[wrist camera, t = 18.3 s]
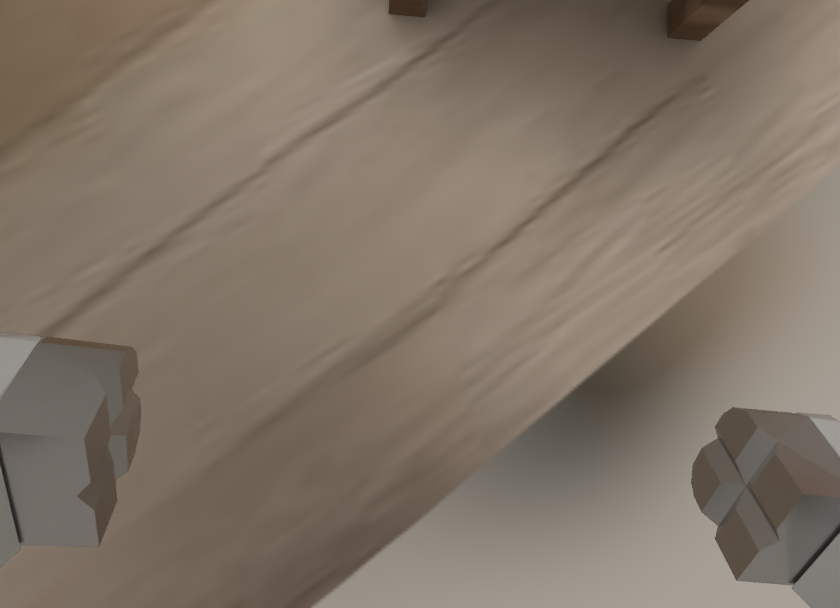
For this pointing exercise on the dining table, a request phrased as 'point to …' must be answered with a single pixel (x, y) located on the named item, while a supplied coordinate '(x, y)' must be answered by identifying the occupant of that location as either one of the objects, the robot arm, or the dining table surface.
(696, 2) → the walnut stool
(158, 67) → the dining table surface
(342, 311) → the dining table surface
